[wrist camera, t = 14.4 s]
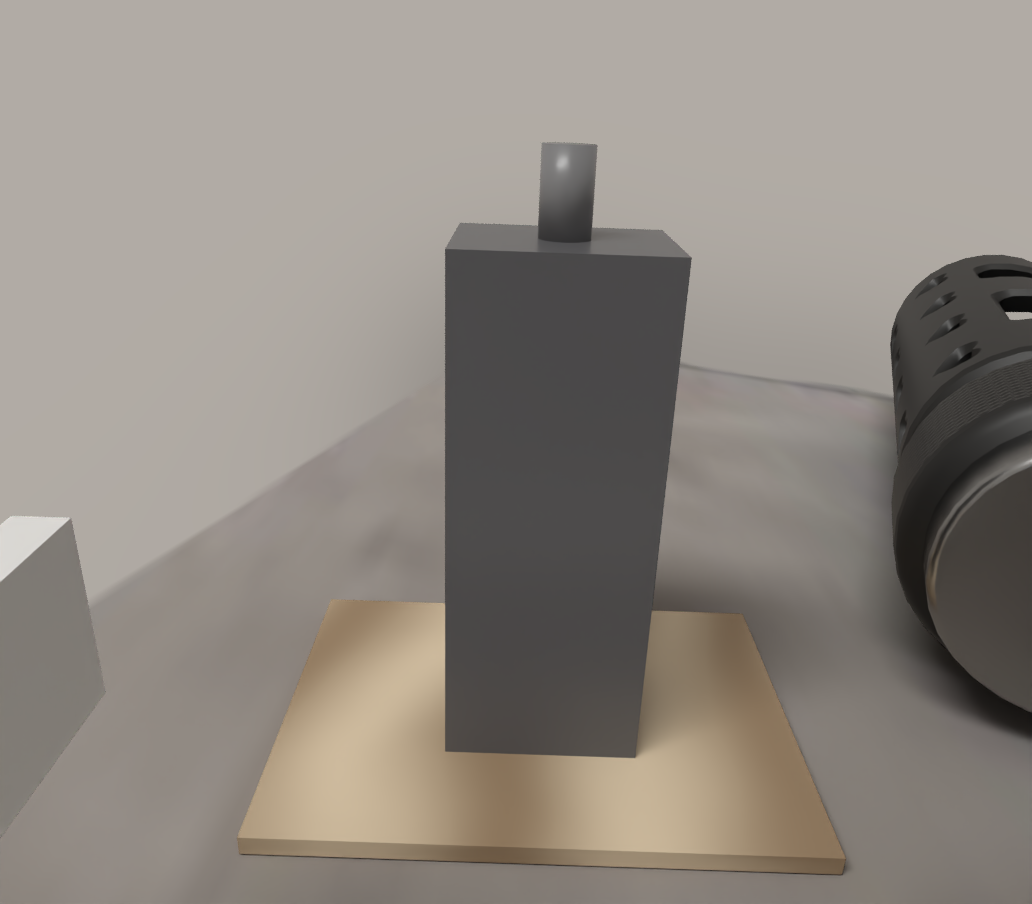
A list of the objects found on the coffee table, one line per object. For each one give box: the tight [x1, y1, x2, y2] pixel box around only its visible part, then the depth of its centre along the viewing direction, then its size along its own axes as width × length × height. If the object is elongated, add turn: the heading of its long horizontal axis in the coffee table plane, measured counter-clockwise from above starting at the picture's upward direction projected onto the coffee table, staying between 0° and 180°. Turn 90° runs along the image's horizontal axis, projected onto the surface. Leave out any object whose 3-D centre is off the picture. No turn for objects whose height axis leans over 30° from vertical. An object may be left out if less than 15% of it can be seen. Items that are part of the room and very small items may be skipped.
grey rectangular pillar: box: [445, 142, 692, 758], centre depth 21 cm, size 5×4×15 cm
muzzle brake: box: [890, 255, 1032, 712], centre depth 33 cm, size 10×28×10 cm, turn 158°
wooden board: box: [237, 599, 846, 875], centre depth 24 cm, size 14×10×1 cm
